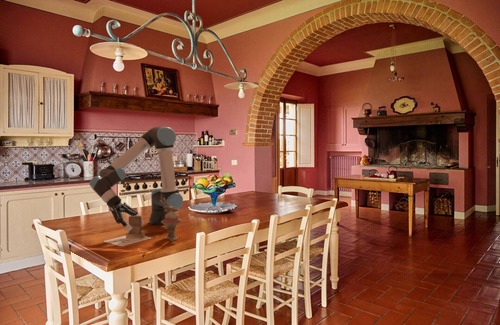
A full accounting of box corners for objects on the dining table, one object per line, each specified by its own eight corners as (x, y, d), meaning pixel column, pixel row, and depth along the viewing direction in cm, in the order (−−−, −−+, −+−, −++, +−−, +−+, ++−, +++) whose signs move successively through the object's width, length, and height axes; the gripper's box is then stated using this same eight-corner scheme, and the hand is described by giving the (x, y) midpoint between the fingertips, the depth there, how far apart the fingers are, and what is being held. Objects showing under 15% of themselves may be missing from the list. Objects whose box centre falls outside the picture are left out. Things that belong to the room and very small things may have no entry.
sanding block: (129, 236, 197) (129, 215, 196) (144, 237, 195) (144, 216, 195) (126, 238, 193) (125, 216, 192) (141, 239, 191) (140, 217, 191)
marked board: (134, 235, 203) (134, 233, 203) (152, 239, 194) (152, 237, 194) (103, 243, 187) (103, 241, 187) (121, 248, 178) (121, 246, 178)
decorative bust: (171, 232, 206) (171, 192, 201) (184, 239, 198) (184, 197, 192) (155, 237, 198) (154, 195, 193) (168, 245, 190) (167, 201, 184)
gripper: (119, 200, 208) (142, 226, 206) (93, 207, 183) (120, 237, 182) (127, 191, 207) (151, 217, 205) (103, 198, 182) (129, 227, 180)
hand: (136, 227), depth 193 cm, fingers open, 13 cm apart
